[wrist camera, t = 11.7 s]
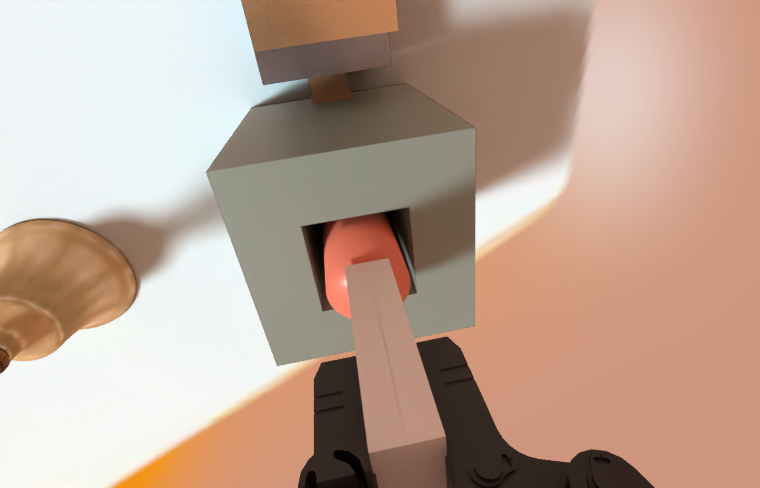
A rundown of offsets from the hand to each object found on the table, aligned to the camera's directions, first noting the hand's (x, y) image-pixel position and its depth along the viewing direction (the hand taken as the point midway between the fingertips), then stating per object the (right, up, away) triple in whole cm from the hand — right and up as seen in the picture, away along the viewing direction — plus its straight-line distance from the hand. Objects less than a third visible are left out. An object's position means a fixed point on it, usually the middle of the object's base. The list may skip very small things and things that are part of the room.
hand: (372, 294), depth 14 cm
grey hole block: (-2, +6, +11) cm, 13 cm away
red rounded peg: (-1, +4, +7) cm, 8 cm away
